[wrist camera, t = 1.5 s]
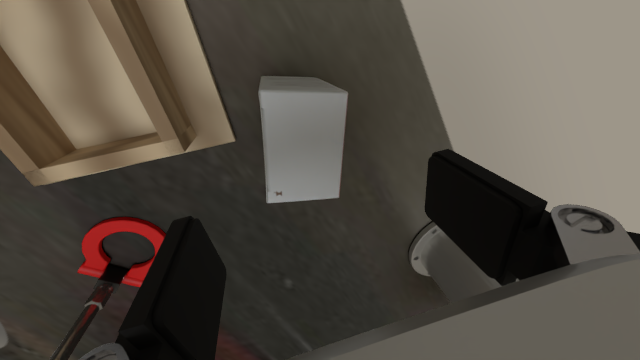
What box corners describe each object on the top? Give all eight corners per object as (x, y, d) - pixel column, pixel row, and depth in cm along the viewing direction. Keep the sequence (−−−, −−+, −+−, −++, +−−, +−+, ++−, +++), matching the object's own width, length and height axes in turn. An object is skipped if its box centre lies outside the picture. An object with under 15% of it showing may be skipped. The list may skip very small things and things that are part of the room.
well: (159, -73, 17) (124, -115, 13) (235, 138, 25) (230, 156, 21) (-134, -34, 15) (-290, -67, 11) (49, 181, 23) (1, 210, 19)
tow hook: (104, 202, 26) (73, 263, 28) (-13, 312, 15) (-49, 400, 17) (184, 231, 29) (152, 282, 32) (140, 336, 18) (95, 405, 20)
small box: (314, 151, 28) (340, 201, 18) (265, 153, 26) (266, 206, 17) (317, 75, 24) (351, 91, 15) (259, 73, 23) (258, 89, 14)
